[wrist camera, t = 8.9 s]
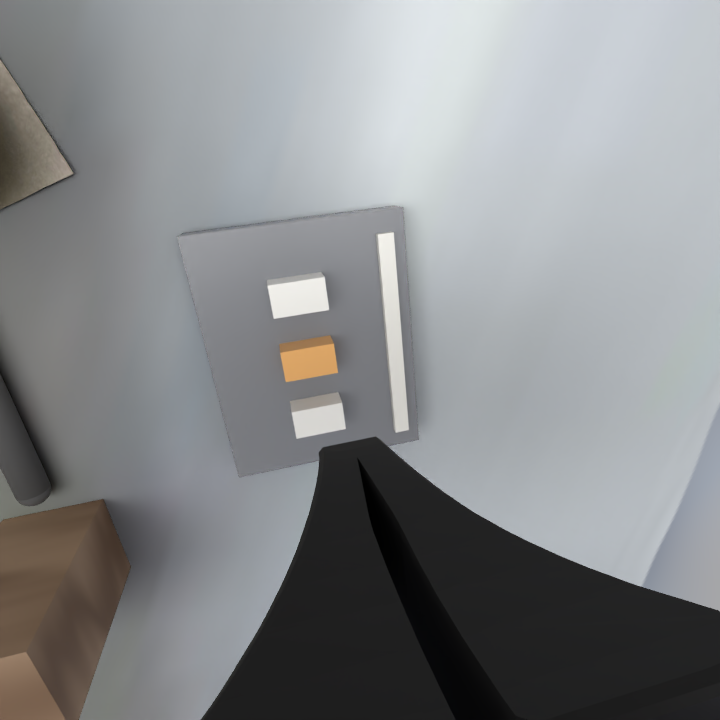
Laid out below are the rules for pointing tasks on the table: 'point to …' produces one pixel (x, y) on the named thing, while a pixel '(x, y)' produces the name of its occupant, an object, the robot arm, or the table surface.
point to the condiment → (24, 147)
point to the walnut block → (56, 607)
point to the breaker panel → (306, 333)
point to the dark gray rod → (20, 456)
